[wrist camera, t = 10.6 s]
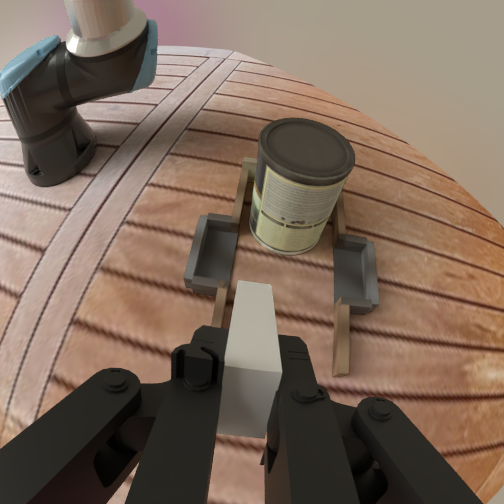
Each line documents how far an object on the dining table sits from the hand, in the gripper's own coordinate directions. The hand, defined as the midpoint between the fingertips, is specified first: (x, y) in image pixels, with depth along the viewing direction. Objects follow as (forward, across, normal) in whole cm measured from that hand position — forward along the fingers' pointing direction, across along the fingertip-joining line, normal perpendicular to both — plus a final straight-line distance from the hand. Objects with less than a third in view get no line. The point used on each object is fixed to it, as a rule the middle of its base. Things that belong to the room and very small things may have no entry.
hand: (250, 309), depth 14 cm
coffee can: (+28, +4, 0) cm, 29 cm away
